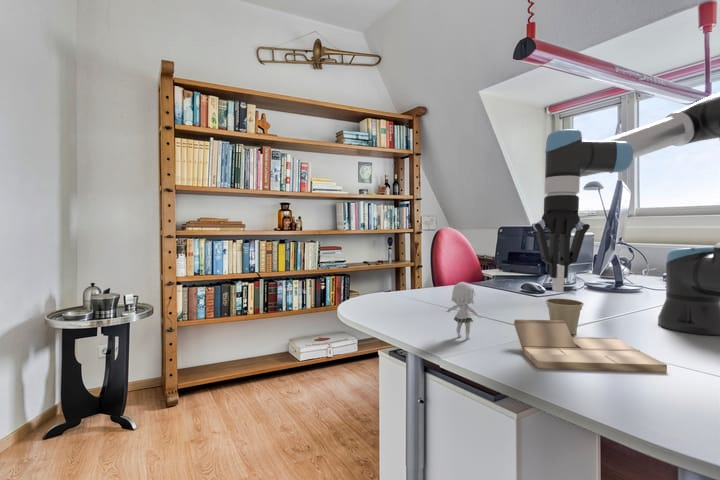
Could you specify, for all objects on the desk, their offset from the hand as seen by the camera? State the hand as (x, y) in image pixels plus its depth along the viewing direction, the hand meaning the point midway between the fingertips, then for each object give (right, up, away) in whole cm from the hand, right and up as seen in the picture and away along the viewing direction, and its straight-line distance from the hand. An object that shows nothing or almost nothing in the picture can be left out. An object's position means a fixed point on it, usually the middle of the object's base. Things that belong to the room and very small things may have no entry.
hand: (557, 291), depth 92 cm
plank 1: (-4, -11, -2) cm, 12 cm away
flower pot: (+8, -13, +12) cm, 20 cm away
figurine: (-22, -14, +7) cm, 27 cm away
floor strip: (+1, -14, -11) cm, 18 cm away
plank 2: (+9, -13, -3) cm, 16 cm away
